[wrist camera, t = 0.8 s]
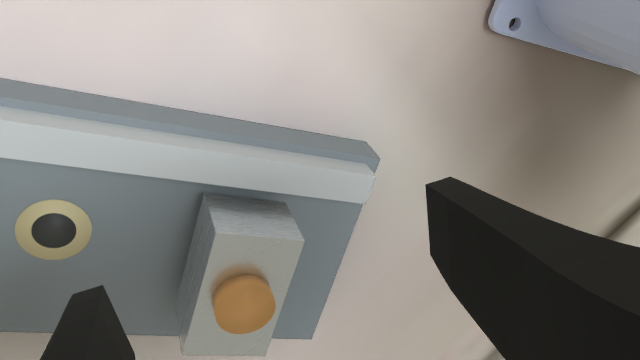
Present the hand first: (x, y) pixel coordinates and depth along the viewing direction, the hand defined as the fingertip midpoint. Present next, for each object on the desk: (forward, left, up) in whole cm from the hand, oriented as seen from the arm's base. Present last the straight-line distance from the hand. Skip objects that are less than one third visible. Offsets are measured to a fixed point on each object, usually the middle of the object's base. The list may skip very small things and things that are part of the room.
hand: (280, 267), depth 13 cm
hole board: (+4, +5, -10) cm, 12 cm away
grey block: (-2, +5, -8) cm, 10 cm away
